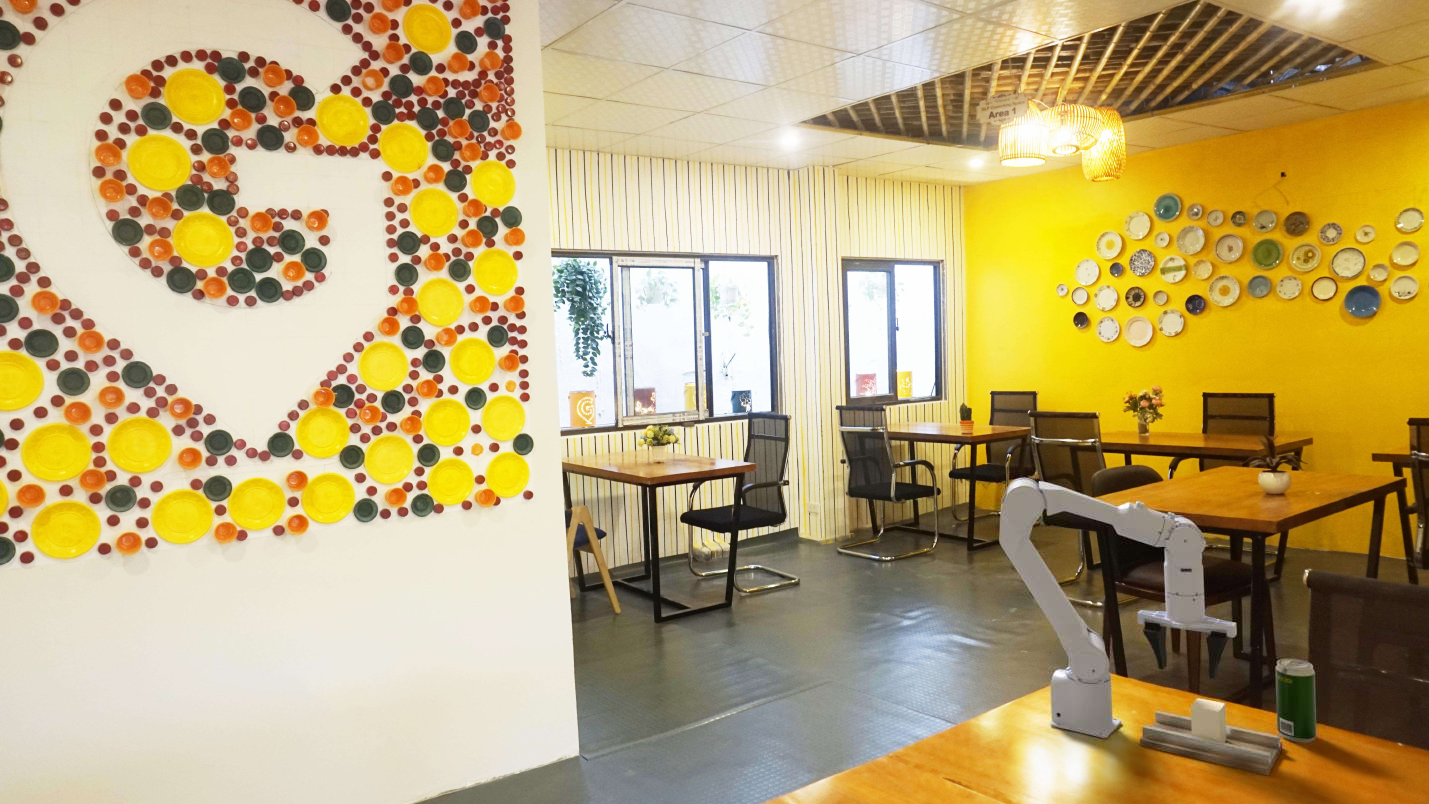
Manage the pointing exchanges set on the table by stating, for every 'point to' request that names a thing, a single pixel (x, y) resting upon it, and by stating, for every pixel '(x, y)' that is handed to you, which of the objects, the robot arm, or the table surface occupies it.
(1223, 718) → the cream block
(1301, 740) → the beer can
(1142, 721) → the table surface
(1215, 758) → the track
